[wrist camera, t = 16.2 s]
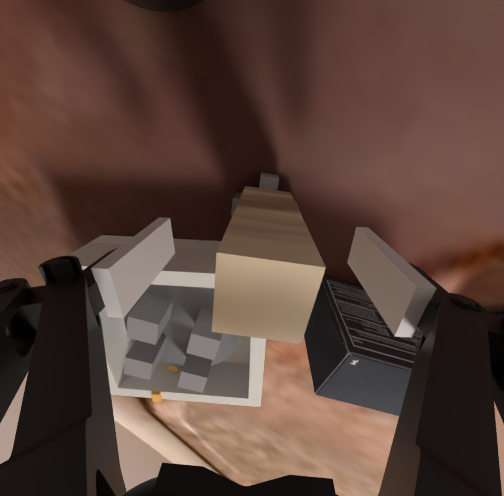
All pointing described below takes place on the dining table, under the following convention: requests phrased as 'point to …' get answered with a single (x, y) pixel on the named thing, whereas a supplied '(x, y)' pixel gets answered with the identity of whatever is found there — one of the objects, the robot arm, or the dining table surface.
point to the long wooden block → (266, 267)
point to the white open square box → (163, 380)
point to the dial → (175, 334)
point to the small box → (357, 350)
